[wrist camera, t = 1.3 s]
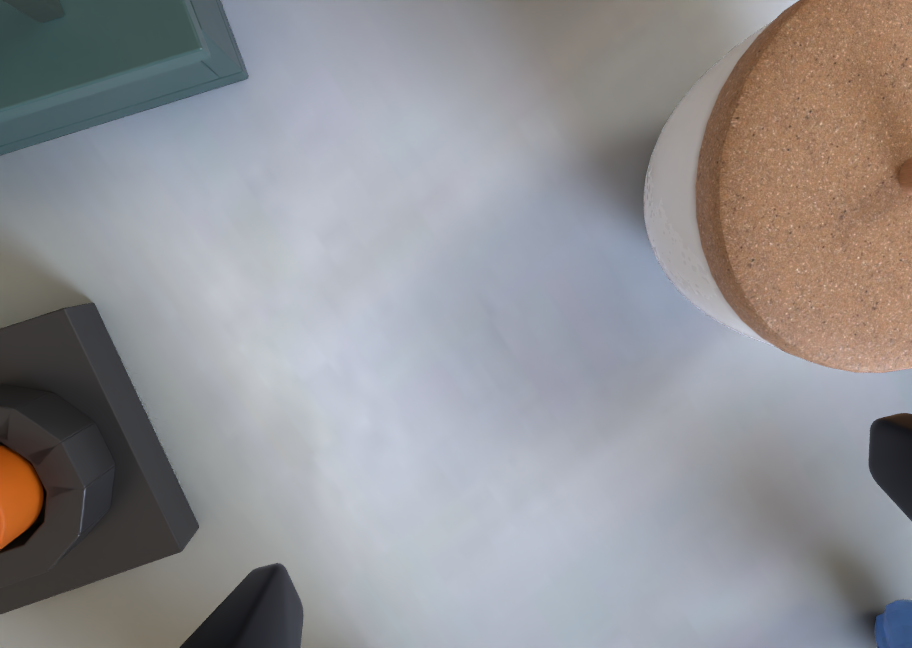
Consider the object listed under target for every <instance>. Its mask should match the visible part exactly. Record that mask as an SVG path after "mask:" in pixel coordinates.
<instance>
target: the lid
mask: <svg viewBox="0 0 912 648" xmlns="http://www.w3.org/2000/svg"><path fill="white" fill-rule="evenodd" d="M209 58H211V54H210V52H209V49H208V47H207V44H206V41H205V39H204V36H203V34H202V31H201V28H200V26H199V23H198V21H197V18H196V15H195V13H194V10H193V8H192V5H191V2H190V0H0V123H1V122H4V121H7V120H11V119H14V118H17V117H20V116H24V115H27V114H30V113H33V112H37V111H40V110H43V109H46V108H50V107H53V106H56V105H59V104H63V103H66V102H69V101H72V100H76V99H79V98H82V97H85V96H89V95H92V94H95V93H98V92H102V91H105V90H108V89H111V88H115V87H118V86H121V85H124V84H128V83H131V82H134V81H137V80H141V79H144V78H147V77H150V76H154V75H157V74H160V73H163V72H167V71H170V70H173V69H176V68H180V67H183V66H186V65H189V64H193V63H196V62H199V61H202V60H206V59H209Z"/></svg>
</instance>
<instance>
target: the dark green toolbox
mask: <svg viewBox="0 0 912 648" xmlns="http://www.w3.org/2000/svg"><path fill="white" fill-rule="evenodd" d="M190 2H191V5H192V8H193V10H194V13H195V15H196V18H197V21H198V23H199V26H200V28H201V31H202V34H203V36H204V39H205V41H206V44H207V47H208V49H209V52H210V54H211V58H209V59H206V60H202V61H199V62H196V63H193V64H189V65H186V66H183V67H180V68H176V69H173V70H170V71H167V72H163V73H160V74H157V75H154V76H150V77H147V78H144V79H141V80H137V81H134V82H131V83H128V84H124V85H121V86H118V87H115V88H111V89H108V90H105V91H102V92H98V93H95V94H92V95H89V96H85V97H82V98H79V99H76V100H72V101H69V102H66V103H63V104H59V105H56V106H53V107H50V108H46V109H43V110H40V111H37V112H33V113H30V114H27V115H24V116H20V117H17V118H14V119H11V120H7V121H4V122H1V123H0V155H3V154H6V153H9V152H12V151H16V150H19V149H22V148H25V147H28V146H32V145H35V144H38V143H41V142H45V141H48V140H51V139H54V138H58V137H61V136H64V135H67V134H70V133H74V132H77V131H80V130H83V129H87V128H90V127H93V126H96V125H99V124H103V123H106V122H109V121H112V120H116V119H119V118H122V117H125V116H128V115H132V114H135V113H138V112H141V111H145V110H148V109H151V108H154V107H158V106H161V105H164V104H167V103H170V102H174V101H177V100H180V99H183V98H187V97H190V96H193V95H196V94H199V93H203V92H206V91H209V90H212V89H216V88H219V87H222V86H225V85H228V84H232V83H235V82H238V81H241V80H245V79H247V78H248V73H247V70H246V68H245V65H244V62H243V60H242V57H241V54H240V51H239V49H238V46H237V43H236V41H235V38H234V35H233V33H232V30H231V27H230V25H229V22H228V19H227V17H226V14H225V11H224V9H223V6H222V3H221V1H220V0H190Z"/></svg>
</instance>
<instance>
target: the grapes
mask: <svg viewBox="0 0 912 648" xmlns="http://www.w3.org/2000/svg"><path fill="white" fill-rule="evenodd" d="M875 638H876V643H877V647H878V648H912V600H904V599H903V600H897V601H894V602H892V603H890V604H888V605H886V606H885V610H884V613H882V614H880V615H878V616H877V617H876V622H875Z"/></svg>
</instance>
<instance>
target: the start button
mask: <svg viewBox="0 0 912 648" xmlns="http://www.w3.org/2000/svg"><path fill="white" fill-rule="evenodd" d="M43 500H44V492H43V486H42V482H41V480H40V478H39V476H38V474H37V472H36V470H35V468H34V467H33V466H32V465H31V463H30V462H29V461H28V460H26V459H25V458H24V457H23V456H21V455H20V454H18V453H17V452H15V451H14V450H12V449H10V448H8V447H6V446H3V445H0V550H1V549H2V548H3V547H5V546H6V545H7V544H9V543H10V542H11V541H13V540H14V539H15V538H17V537H18V536H19V535H21V534H22V533H23V532H25V531H26V530H27V529H28V528H29V527H30V526H31V525H32V524H33V523H34V522H35V521H36V519H37V517H38V516H39V514H40V511H41V509H42V505H43Z"/></svg>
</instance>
